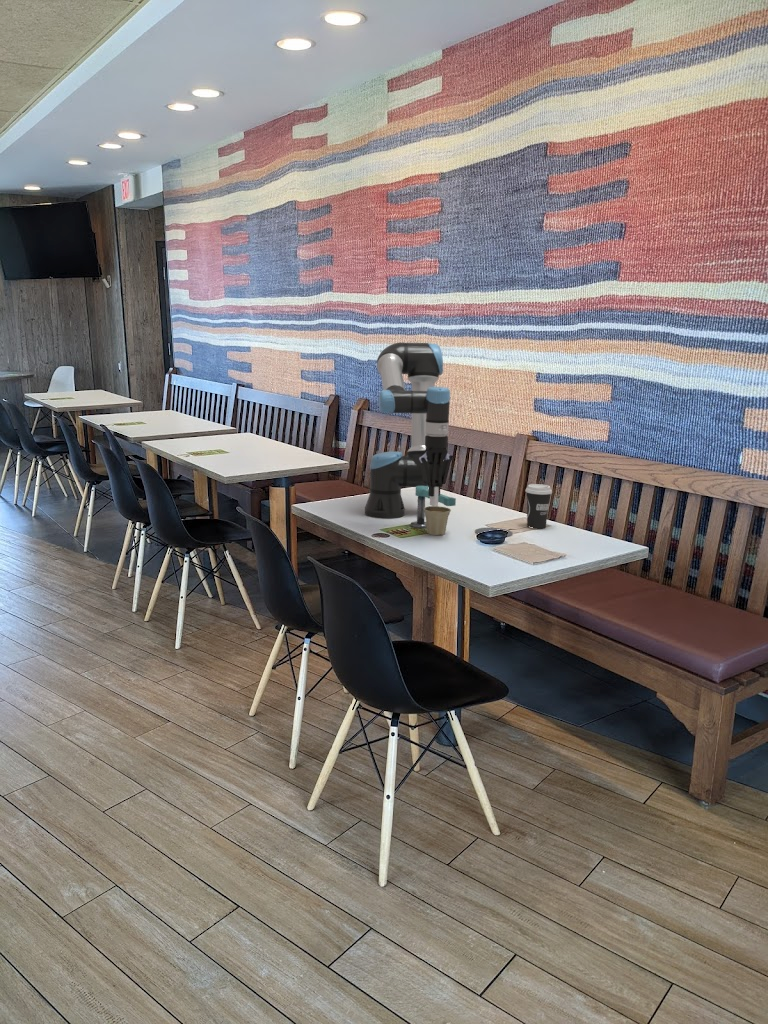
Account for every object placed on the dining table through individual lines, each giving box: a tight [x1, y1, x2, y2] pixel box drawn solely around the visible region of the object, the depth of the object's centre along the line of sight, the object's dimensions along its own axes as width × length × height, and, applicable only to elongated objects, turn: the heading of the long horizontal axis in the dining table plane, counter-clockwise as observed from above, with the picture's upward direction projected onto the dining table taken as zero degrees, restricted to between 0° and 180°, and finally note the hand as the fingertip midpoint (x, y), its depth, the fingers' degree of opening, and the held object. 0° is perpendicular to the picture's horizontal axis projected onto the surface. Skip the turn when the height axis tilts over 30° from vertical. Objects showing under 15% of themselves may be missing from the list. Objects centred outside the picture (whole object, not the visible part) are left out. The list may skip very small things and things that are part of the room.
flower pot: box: [424, 505, 452, 536], centre depth 285 cm, size 9×9×9 cm
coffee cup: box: [525, 483, 553, 530], centre depth 297 cm, size 10×10×15 cm
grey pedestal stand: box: [410, 496, 427, 530], centre depth 294 cm, size 7×7×11 cm
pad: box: [474, 527, 513, 538], centre depth 288 cm, size 13×13×1 cm
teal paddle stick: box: [414, 486, 457, 507], centre depth 285 cm, size 22×4×3 cm, turn 27°
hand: (433, 505), depth 276 cm, fingers closed
